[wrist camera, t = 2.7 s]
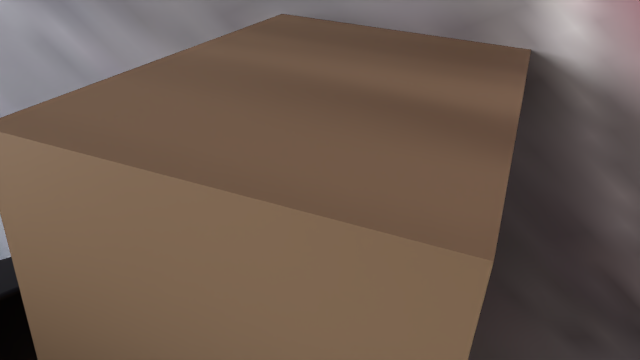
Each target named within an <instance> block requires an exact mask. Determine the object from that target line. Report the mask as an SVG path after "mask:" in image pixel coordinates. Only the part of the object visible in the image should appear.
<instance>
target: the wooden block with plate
mask: <svg viewBox="0 0 640 360" xmlns="http://www.w3.org/2000/svg"><path fill="white" fill-rule="evenodd" d="M530 54H531V50H529V49H522V48H515V47H508V46H501V45H494V44H487V43H480V42H473V41H466V40H459V39H453V38H446V37H439V36H432V35H425V34H418V33H411V32H404V31H397V30H390V29H383V28H376V27H369V26H362V25H355V24H348V23H341V22H334V21H327V20H321V19H314V18H307V17H300V16H293V15H286V14H281V15H278V16H275V17H272V18H270V19H267V20H264V21H262V22H259V23H256V24H253V25H251V26H248V27H245V28H243V29H240V30H237V31H234V32H232V33H229V34H226V35H224V36H221V37H218V38H216V39H213V40H210V41H207V42H205V43H202V44H199V45H197V46H194V47H191V48H188V49H186V50H183V51H180V52H178V53H175V54H172V55H169V56H167V57H164V58H161V59H159V60H156V61H153V62H150V63H148V64H145V65H142V66H140V67H137V68H134V69H132V70H129V71H126V72H123V73H121V74H118V75H115V76H113V77H110V78H107V79H104V80H102V81H99V82H96V83H94V84H91V85H88V86H85V87H83V88H80V89H77V90H75V91H72V92H69V93H67V94H64V95H61V96H58V97H56V98H53V99H50V100H48V101H45V102H42V103H39V104H37V105H34V106H31V107H29V108H26V109H23V110H20V111H18V112H15V113H12V114H10V115H7V116H4V117H1V118H0V214H1V218H2V222H3V226H4V230H5V234H6V238H7V242H8V245H9V249H10V253H11V257H12V261H13V265H14V269H15V273H16V277H17V281H18V285H19V288H20V292H21V296H22V300H23V304H24V308H25V312H26V316H27V320H28V324H29V328H30V331H31V335H32V339H33V343H34V347H35V351H36V355H37V359H38V360H468V357H469V353H470V349H471V346H472V342H473V338H474V334H475V331H476V327H477V323H478V319H479V316H480V312H481V308H482V304H483V300H484V297H485V293H486V289H487V285H488V282H489V278H490V274H491V270H492V266H493V263H494V258H495V252H496V246H497V241H498V235H499V229H500V224H501V218H502V212H503V207H504V201H505V195H506V190H507V184H508V178H509V173H510V167H511V161H512V156H513V150H514V144H515V139H516V133H517V127H518V122H519V116H520V110H521V105H522V99H523V93H524V88H525V82H526V76H527V71H528V65H529V59H530Z"/></svg>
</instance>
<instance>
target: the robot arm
mask: <svg viewBox="0 0 640 360" xmlns="http://www.w3.org/2000/svg"><path fill="white" fill-rule="evenodd" d="M0 360H38V359H37V355H36V351H35V347H34V343H33V339H32V335H31V331H30V328H29V324H28V320H27V316H26V312H25V308H24V304H23V300H22V296H21V292H20V288H19V285H18V281H17V277H16V273H15V269H14V265H13V261H12V257H10V258H6V259H2V260H0Z"/></svg>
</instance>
